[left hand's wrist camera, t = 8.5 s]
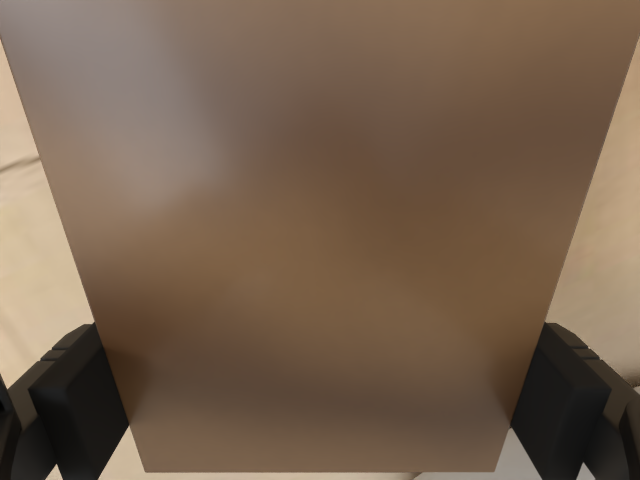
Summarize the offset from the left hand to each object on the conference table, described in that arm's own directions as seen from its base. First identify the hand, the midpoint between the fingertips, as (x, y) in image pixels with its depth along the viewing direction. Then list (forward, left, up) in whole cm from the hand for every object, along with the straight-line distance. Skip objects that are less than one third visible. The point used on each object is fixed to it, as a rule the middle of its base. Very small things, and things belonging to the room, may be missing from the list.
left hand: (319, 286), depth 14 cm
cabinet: (+7, +3, -6) cm, 10 cm away
